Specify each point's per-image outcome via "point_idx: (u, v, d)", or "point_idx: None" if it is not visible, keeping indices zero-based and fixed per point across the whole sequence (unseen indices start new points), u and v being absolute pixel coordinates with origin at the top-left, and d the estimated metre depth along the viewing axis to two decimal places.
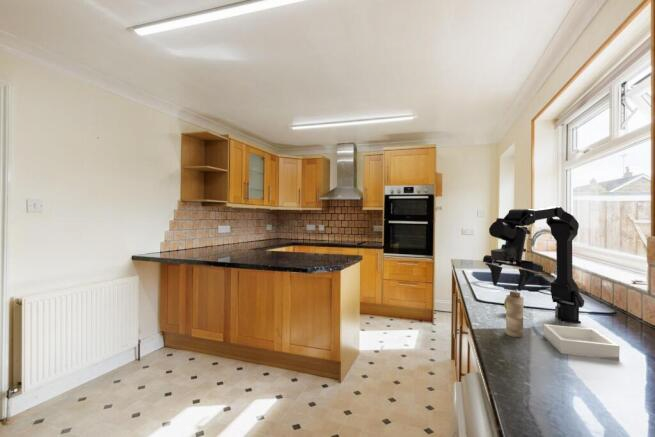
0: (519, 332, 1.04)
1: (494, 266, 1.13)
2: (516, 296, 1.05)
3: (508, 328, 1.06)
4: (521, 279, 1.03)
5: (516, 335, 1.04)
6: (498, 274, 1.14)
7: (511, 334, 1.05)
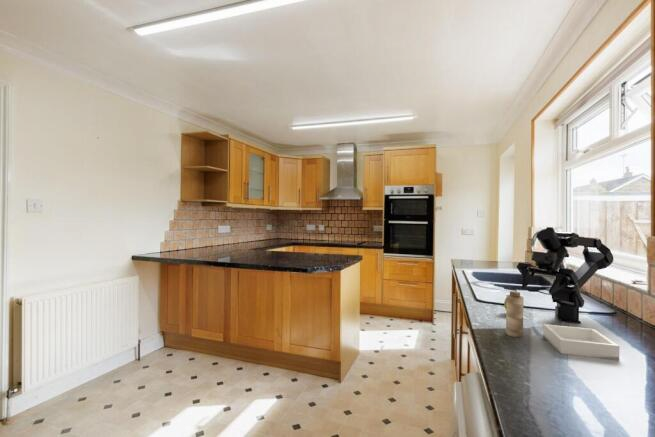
0: (519, 332, 1.04)
1: (527, 272, 1.19)
2: (516, 296, 1.05)
3: (508, 328, 1.06)
4: (555, 283, 1.09)
5: (516, 335, 1.04)
6: (528, 281, 1.19)
7: (511, 334, 1.05)
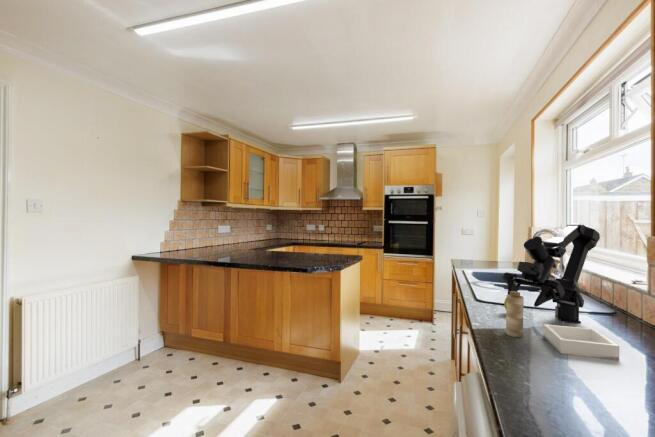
0: (519, 332, 1.04)
1: (513, 283, 1.14)
2: (516, 296, 1.05)
3: (508, 328, 1.06)
4: (541, 295, 1.04)
5: (516, 335, 1.04)
6: None
7: (511, 334, 1.05)
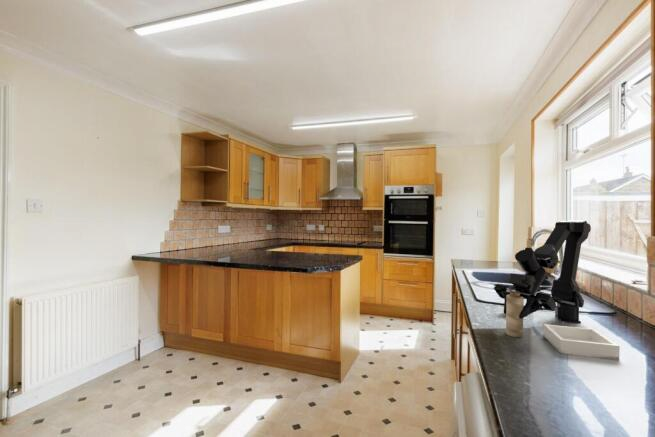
0: (519, 332, 1.04)
1: None
2: (516, 296, 1.05)
3: (508, 328, 1.06)
4: (526, 307, 1.04)
5: (516, 335, 1.04)
6: None
7: (511, 334, 1.05)
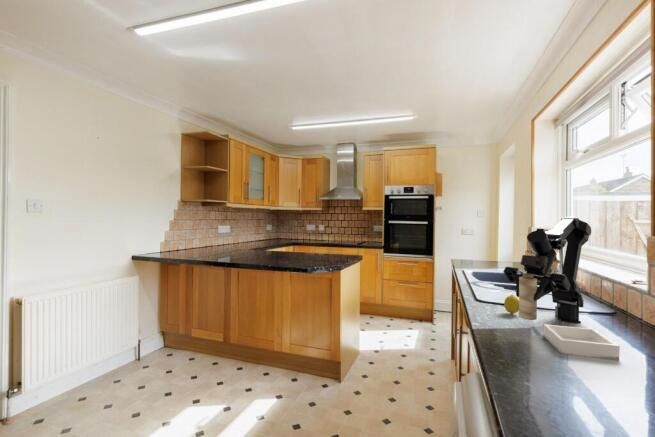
0: (533, 314, 1.01)
1: None
2: (530, 278, 1.02)
3: (522, 311, 1.03)
4: (540, 289, 1.01)
5: (530, 317, 1.02)
6: None
7: (525, 317, 1.02)
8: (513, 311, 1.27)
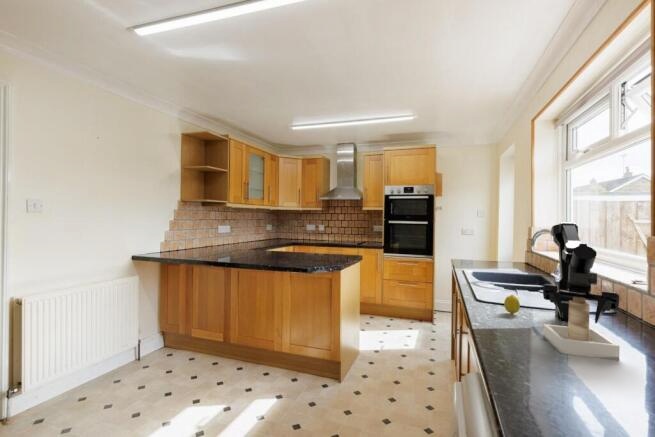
0: None
1: (560, 296, 1.01)
2: (584, 302, 0.95)
3: (575, 338, 0.95)
4: (600, 309, 0.94)
5: None
6: None
7: None
8: (513, 311, 1.27)
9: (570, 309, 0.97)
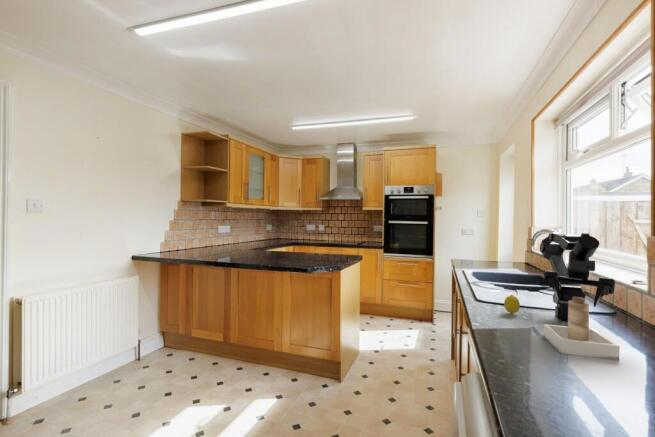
0: None
1: (558, 282, 1.09)
2: (583, 302, 0.95)
3: (575, 339, 0.95)
4: (598, 294, 1.01)
5: None
6: None
7: None
8: (513, 311, 1.27)
9: (569, 309, 0.97)
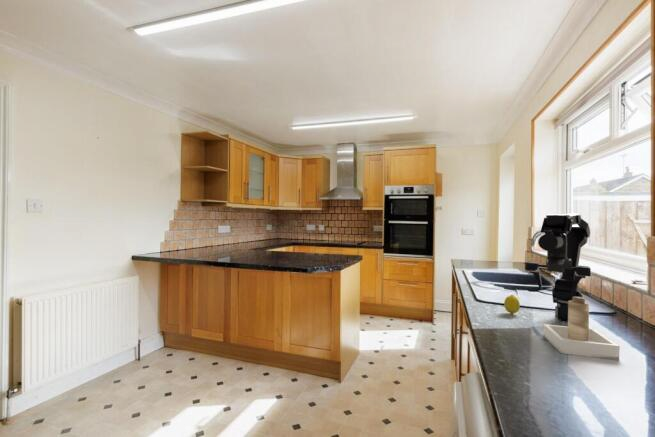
0: None
1: (539, 273, 1.15)
2: (583, 302, 0.95)
3: (575, 339, 0.95)
4: (576, 284, 1.08)
5: None
6: (540, 278, 1.17)
7: None
8: (513, 311, 1.27)
9: (569, 309, 0.97)
